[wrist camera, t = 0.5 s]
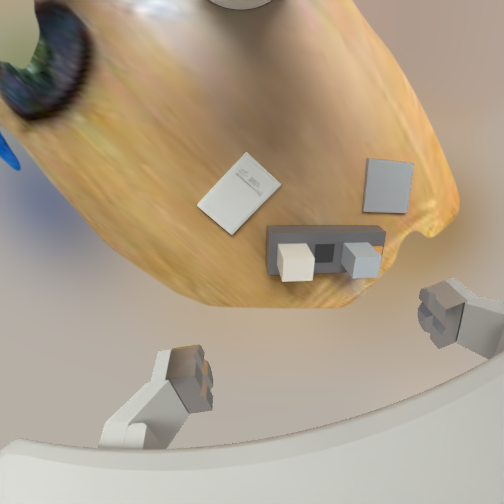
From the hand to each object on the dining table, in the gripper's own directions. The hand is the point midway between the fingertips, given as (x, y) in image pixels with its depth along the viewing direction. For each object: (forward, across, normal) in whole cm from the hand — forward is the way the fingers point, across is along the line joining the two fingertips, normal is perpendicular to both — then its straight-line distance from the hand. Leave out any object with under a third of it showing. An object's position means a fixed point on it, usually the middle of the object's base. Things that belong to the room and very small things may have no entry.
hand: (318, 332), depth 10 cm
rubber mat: (+44, -25, +9) cm, 52 cm away
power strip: (+44, -11, +18) cm, 49 cm away
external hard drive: (+45, +2, +5) cm, 45 cm away
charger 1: (+43, -4, +16) cm, 46 cm away
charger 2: (+41, -16, +19) cm, 48 cm away
